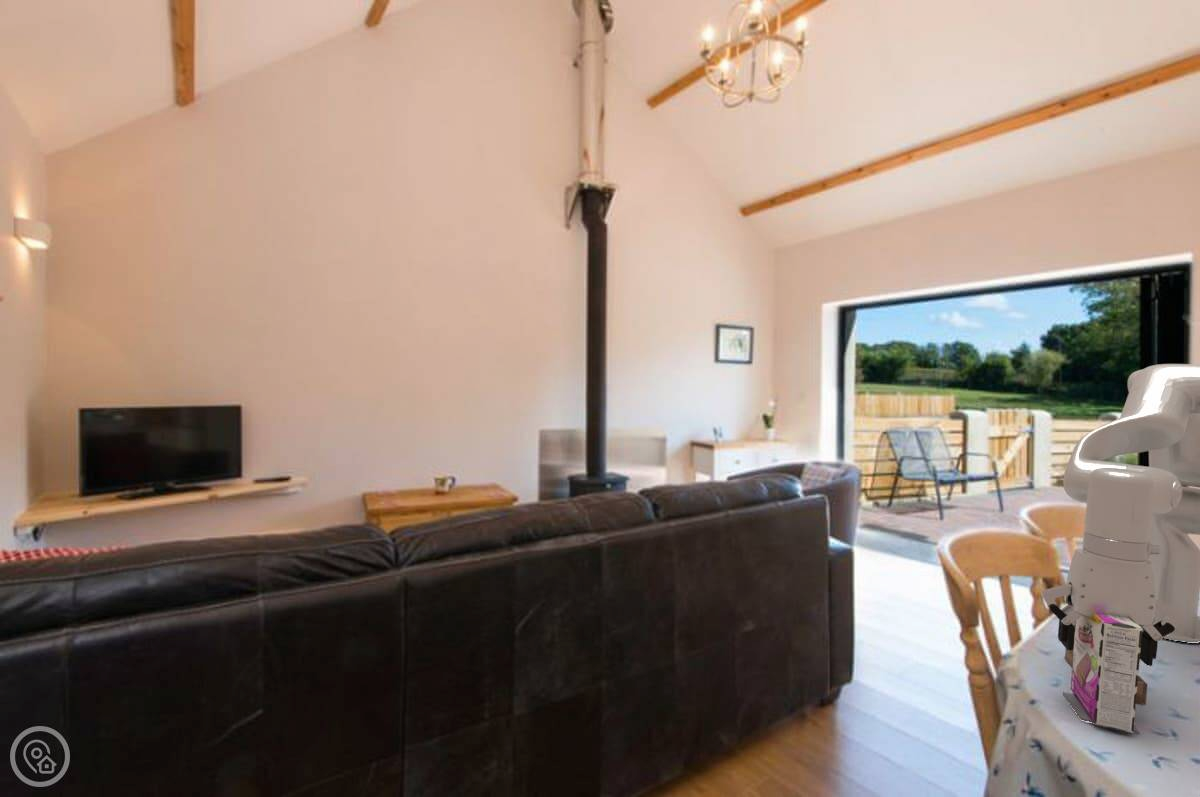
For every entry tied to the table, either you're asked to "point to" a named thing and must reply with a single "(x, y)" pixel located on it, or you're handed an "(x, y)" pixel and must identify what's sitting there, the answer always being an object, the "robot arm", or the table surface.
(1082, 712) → the pad
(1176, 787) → the table surface
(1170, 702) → the table surface
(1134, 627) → the candy bar box
